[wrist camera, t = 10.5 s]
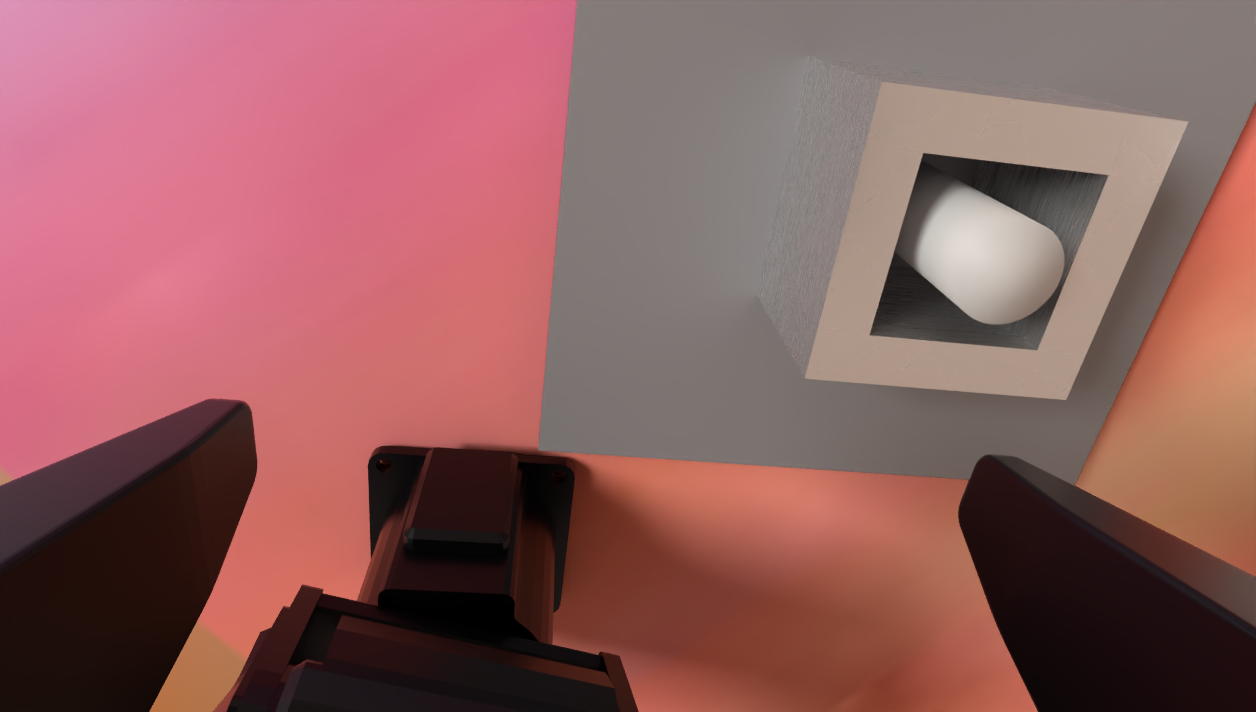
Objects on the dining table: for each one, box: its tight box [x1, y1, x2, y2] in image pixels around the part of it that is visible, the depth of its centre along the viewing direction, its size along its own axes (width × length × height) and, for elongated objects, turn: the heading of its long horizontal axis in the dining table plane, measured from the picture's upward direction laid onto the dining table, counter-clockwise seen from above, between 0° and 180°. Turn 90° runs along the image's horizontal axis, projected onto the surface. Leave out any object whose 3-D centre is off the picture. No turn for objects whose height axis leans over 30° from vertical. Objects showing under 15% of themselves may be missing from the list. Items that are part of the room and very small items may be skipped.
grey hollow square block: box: [757, 56, 1188, 400], centre depth 18 cm, size 6×6×5 cm
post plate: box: [538, 0, 1256, 485], centre depth 18 cm, size 18×18×7 cm
